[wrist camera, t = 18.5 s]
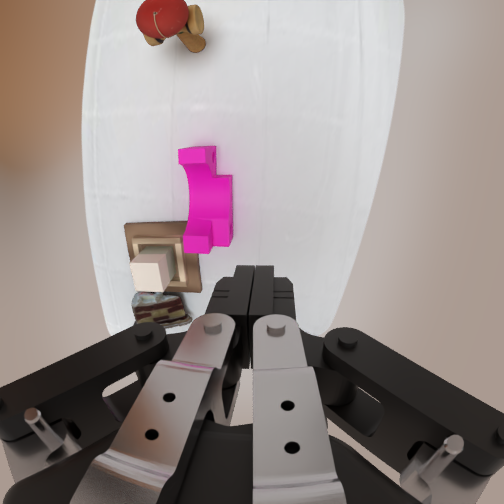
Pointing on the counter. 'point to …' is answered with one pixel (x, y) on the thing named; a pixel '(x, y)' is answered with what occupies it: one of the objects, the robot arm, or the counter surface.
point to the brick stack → (153, 268)
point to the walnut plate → (167, 236)
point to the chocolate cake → (159, 309)
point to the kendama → (171, 22)
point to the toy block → (206, 201)
